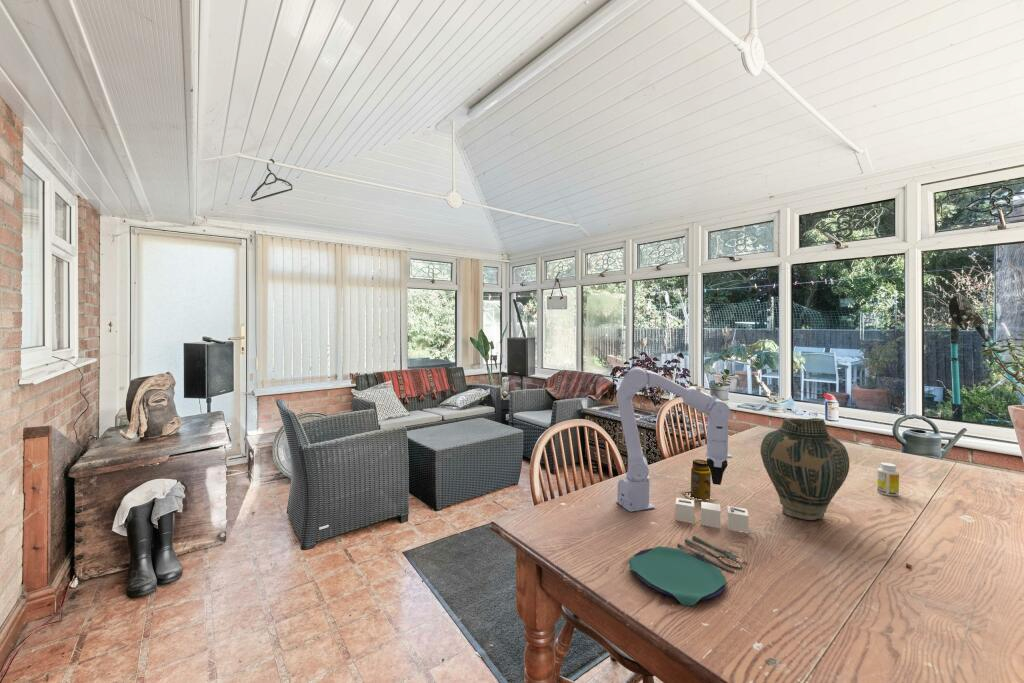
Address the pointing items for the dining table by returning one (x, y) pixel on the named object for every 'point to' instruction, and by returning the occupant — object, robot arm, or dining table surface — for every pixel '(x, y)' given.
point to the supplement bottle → (888, 479)
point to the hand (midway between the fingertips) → (716, 483)
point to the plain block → (710, 514)
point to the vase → (804, 466)
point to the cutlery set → (681, 572)
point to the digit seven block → (737, 519)
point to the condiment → (700, 480)
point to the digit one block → (684, 510)
